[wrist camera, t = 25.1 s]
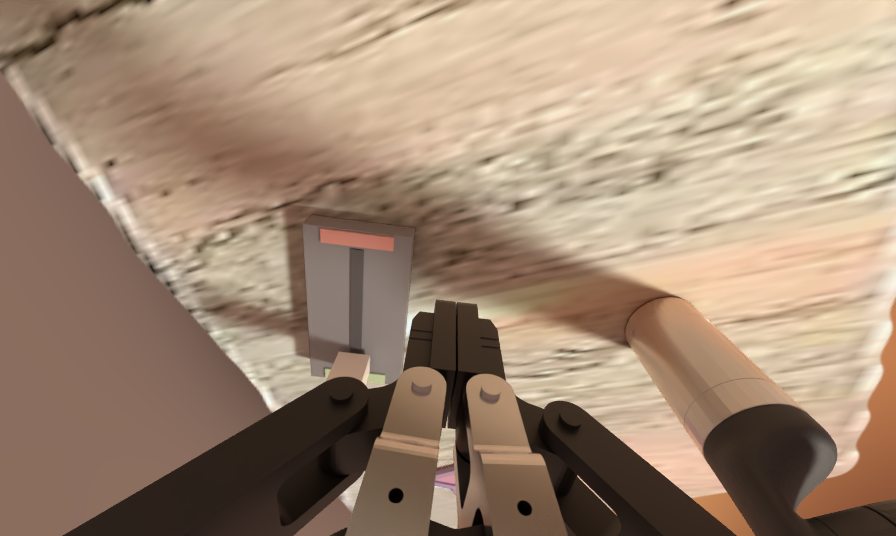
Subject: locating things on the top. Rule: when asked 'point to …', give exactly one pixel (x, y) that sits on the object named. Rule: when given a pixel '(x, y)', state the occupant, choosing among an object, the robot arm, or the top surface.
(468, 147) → the top surface
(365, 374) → the handle
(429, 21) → the top surface
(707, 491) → the top surface
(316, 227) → the switch base
